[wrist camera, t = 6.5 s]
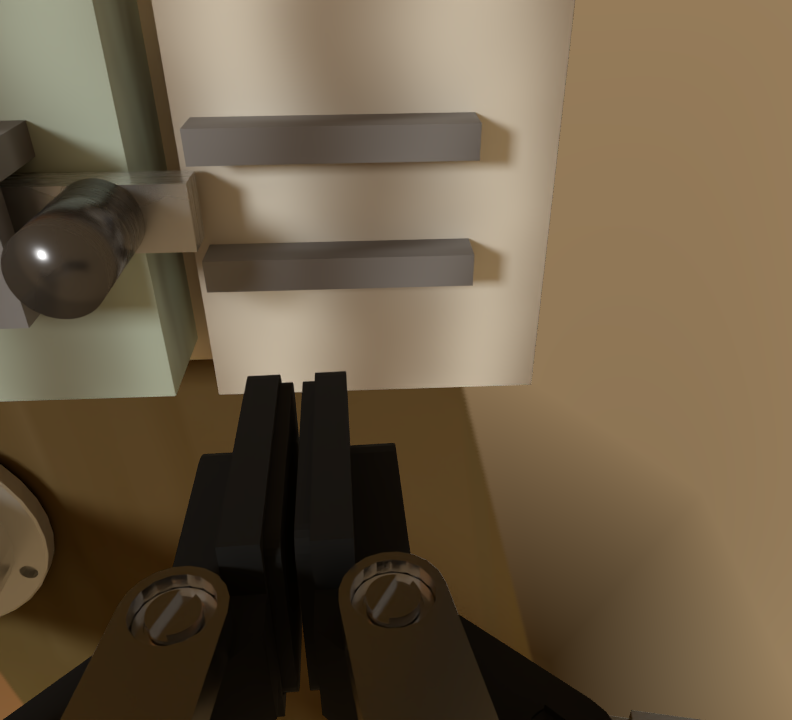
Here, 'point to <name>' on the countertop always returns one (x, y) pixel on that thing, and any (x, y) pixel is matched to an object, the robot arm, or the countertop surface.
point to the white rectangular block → (295, 186)
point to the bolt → (91, 232)
